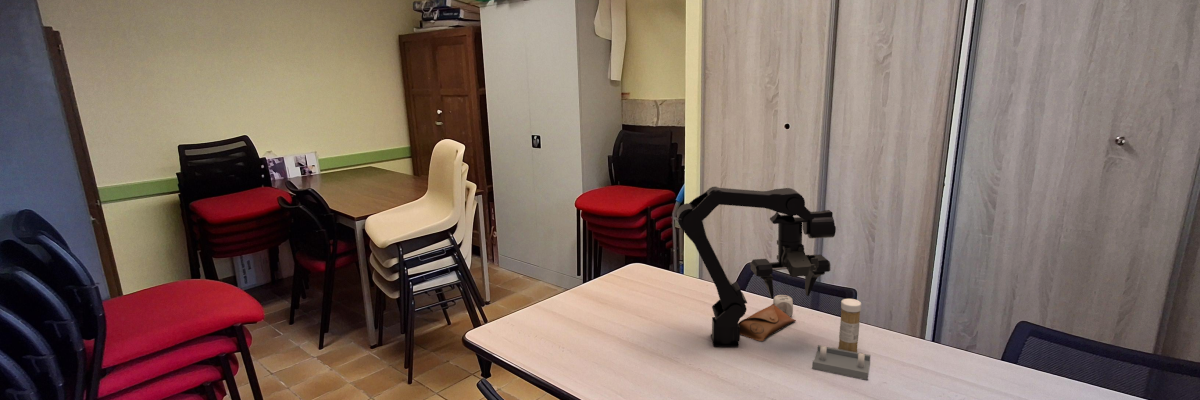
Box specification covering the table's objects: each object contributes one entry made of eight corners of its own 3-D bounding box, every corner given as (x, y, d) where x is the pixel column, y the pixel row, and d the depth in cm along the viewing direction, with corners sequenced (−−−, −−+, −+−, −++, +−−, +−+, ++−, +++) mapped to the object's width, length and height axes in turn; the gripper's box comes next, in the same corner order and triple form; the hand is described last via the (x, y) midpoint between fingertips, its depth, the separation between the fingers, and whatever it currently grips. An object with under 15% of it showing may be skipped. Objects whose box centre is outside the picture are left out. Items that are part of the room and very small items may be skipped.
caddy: (812, 368, 135) (812, 354, 134) (817, 351, 143) (818, 337, 142) (867, 380, 129) (868, 365, 128) (869, 361, 137) (871, 347, 136)
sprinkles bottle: (848, 345, 145) (851, 296, 142) (861, 353, 141) (865, 303, 138) (833, 348, 144) (837, 299, 141) (847, 357, 139) (850, 306, 136)
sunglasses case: (763, 341, 147) (753, 317, 149) (743, 346, 153) (733, 323, 154) (797, 320, 159) (787, 297, 161) (777, 325, 164) (768, 303, 166)
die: (774, 317, 163) (775, 301, 162) (772, 310, 168) (773, 294, 167) (792, 318, 162) (793, 301, 161) (790, 310, 167) (791, 295, 166)
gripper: (763, 251, 134) (763, 312, 137) (841, 245, 134) (839, 306, 137) (749, 238, 145) (750, 295, 148) (821, 232, 145) (820, 289, 148)
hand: (789, 296), depth 145 cm, fingers open, 9 cm apart
